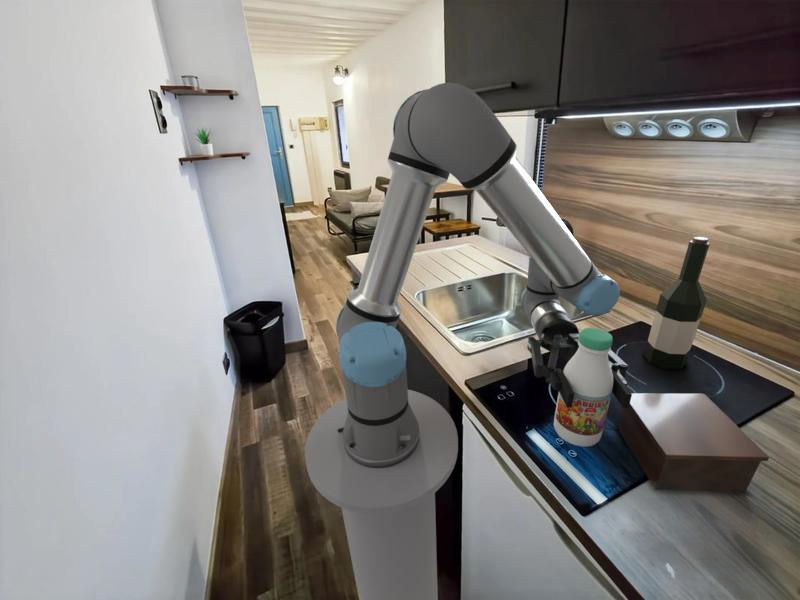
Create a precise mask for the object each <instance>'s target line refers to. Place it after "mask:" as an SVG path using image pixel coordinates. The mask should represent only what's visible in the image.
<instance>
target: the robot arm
mask: <svg viewBox="0 0 800 600" xmlns="http://www.w3.org/2000/svg"><path fill="white" fill-rule="evenodd" d="M392 135H393V136H392V137H393V140H392V143H391V146H390V149H389V154H388V157H387V163H388V165H389V168H390V169H391V177H390V179H389V183H388V186H387V189H386V193H385V196H384V199H383V203H382V207H381V210H380V213H379V216H378V220H377V223H376V226H375V230H374V232H373V233H374V234H373V237H372V240H371V243H370V247H369V250H368V254H367V256H366V260H365V263H364V267H363V270H362V273H361V276H360V280H359V284H358V287H357V288H356V289H354V290H352V291H350V292H349V293H348V294H347V298H346V301H345V304H343V306H342V307H341V309H340V311H339V313H338V316H337V318H336V325H335V329H336V335H337V340H338V361H339V362H338V363H339V366H340V367H341V375H342V381H343V386H344V393H345V398H346V400H347V406H348V413H347V417H346V421H345V425H344V427H343V428H340V429H338V432H339V433H340V432H343V442H344V448H345V451H346V453H347V454H348V456H349V457H350V458H351V459H352V460H353V461H355V462H356V463H358V464H360V465H362V466H365V467H370V468H386V467H390V466H394V465H397V464H399V463H401V462H403V461H404V460H406V459H407V458H408V457H409V456H410V455H411V454H412V453H413V452H414V451H415V449H416V447H417V445H418V443H419V424H418V421H417V419H416V417H415V415H414V413H413V411H412V409H411V407H410V405H409V403H408V390H409V389H408V376H407V375H408V374H407V373H408V372H407V349H406V345H405V341H404V338H403V336H402V334H401V333H400V331H398V329H396V328H397V325H398V322H399V320H400V317H401V314H402V307H401V305H400V303H399V301H398V300H399V298H400V294H401V291H402V288H403V285H404V282H405V280H406V277H407V274H408V271H409V268H410V265H411V263H412V259H413V257H414V254H415V251H416V247H417V244H418V242H419V239H420V236H421V234H422V230H423V227H424V225H425V222H426V219H427V216H428V213H429V210H430V206H431V204H432V201H433V198H434V195H435V192H436V189H437V188H438V187H439V186H441V185H443V184H444V183H447V182H448V180H449V177H450V175H451V176H452V177H454V178H455V179H456V180H457V181H458V182H459V183H460V184H461V186H462V187H463V188H464V189H465V190H466V191H467V190H468V191H475V192H476V193H477V194H478V195H479V196H480V198H481V199H482V200H483V202H485V203H486V205H487V206H488V207H489V208H490V210H491V211H492V212H493V213H494V214H495V216H496V217H497V218H498V219H499V220H500V222H501V223H502V224H503V225H504V226H505V227H506V229H507V230H508V231H509V232H510V233H511V234H512V236H513V237H514V238H515V239H516V241H517V242H518V243H519V244H520V245H521V246H522V248H523V249H524V250H525V251H526V252H527V254H528V255H529V257H528V269H527V281H526V282H527V283H526V287H525V288H524V290H523V291H522V293H521V296H520V302H521V307H522V308H523V312H524V313H525V314H526V316H527V319H528V321H529V322H530V324H531V326H532V328H533V330H534V332H535V334H536V336H537V338H538V339H536V338H535V337H534V336H528V338H527V339H528V340H527V347H526V349H527V351H529V353H530V354H531V361H532V368H533V373H534V377H536V378H542V377H544V378H545V382H546V383H547V384H548V385H549V384H550V386H551V388H552V389H553V390H554V391H558V393H559V392H560V394H561V396H562V399H563V401H564V403H565V405H566V407H569V408H572V404H573V399H574V392H573V390H572V388H571V386H570V385H569V383H568V381H567V379H566V377H565V375H564V373H563V371H564V370H562V368H561V367H559V368H558V367H557V364H558V361H559V357H573V356H574V355H575V353H576V352H577V350H578V348H579V345H578V341H579V335H580V330H579V328H578V326H577V325H576V323H575V322H574V320H573V319H572V318H571V316H570V314H569V313H568V312H567V311H566V310H565V308H564V307H563V306H562V304H561V303H560V302H561V298H562V299H563V300H565V301H566V302H568V303H569V304H571V305H572V306H574V307H575V308H576V309H577V310H578V311H582V313H583V312H584V313H585V314H587V315H589V316H593V317H596V316H597V317H598V316H602V315H605V314H606V313H608V312H609V311H611V310H612V309H613V308H614V307H615V306H616V305H617V303H618V302H619V299H620V295H621V288H620V285H619V283H618V282H617V281H616V280H614V279H613V278H611V277H610V276H609V275H607V274H603V273H602V272H601V271H600V270H599V269H598V268H597V266H596V265H595V263H593V261H592V260H591V259H590V258H589V256H588V255H587V253H586V252H585V251H584V249H583V248H582V246H581V245H580V244H579V242H578V241H577V239H576V238H575V237H574V236H573V234H572V233H571V231H570V230H569V229H568V227H567V226H566V224H565V223H564V222H563V220H562V219H561V217H560V215H558V213H557V212H556V210H555V209H554V208H553V206H552V205H551V203H550V202H549V201H548V200H547V198H546V197H545V195H544V193H542V191H541V189H540V188H539V187H538V185H537V184H536V182H535V181H534V179H532V177H531V176H530V174H529V173H528V171H527V170H526V169H525V168H524V166H523V164H522V163H521V162H520V161H519V158H517V155H516V154H517V149H518V145H517V143H516V142H515V141H514V139H513V138H512V136H511V135H510V134H509V132H508V131H507V129H506V128H505V127H504V125H503V124H502V122H501V121H500V120H499V118H498V117H497V116H496V114H495V113H494V111H492V110H491V108H490V107H489V105H487V103H486V102H485V101H484V100H483V99H482V98H481V97H480V96H479V95H478V94H477V93H476V92H474V91H473V90H472V89H471V88H469V87H467V86H465V85H462V84H460V83H454V82H443V83H438V84H436V85H433V86H431V87H430V88H427V89H422V90H419V91H416V92H415V93H413V94H411V95H410V96H408V97H407V98H406V99H405V100H404V101H403V103H401V105H400V106H399V108H398V109H397V111H396V114H395V116H394V119H393V127H392ZM541 348H543V349H545V350H546V351H547V352H550V355H549V358H548V359H549V360H548V364H547V365H545V364H544V361H543V355H542V351H541ZM608 360H609V364H610V367H611V370H612V373H613V389H612V394H613V396H614V398H615V399H616V400H617V401H618V403H619V404H620V406H621V408H622V407H623V408H629V404H630V400H631V397H632V394H631V393H632V392H631V391H630V389H629V388H628V386H627V385H628V381H627V380H626V379H625V378H626V374H627V370H628V364H627V363H626V362H625V361H624V360H623V359H622V358H620V356H618V355H617V354H616V353H615V352H614V351H613V350H612V349H611V350H610V351H609V352H608Z"/></svg>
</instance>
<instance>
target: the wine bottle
mask: <svg viewBox="0 0 800 600" xmlns="http://www.w3.org/2000/svg"><path fill="white" fill-rule="evenodd" d="M710 245H711V242H709V238H708V237H704V236H694V237H693V238H692V239H691V240H690V241H689V242H688V245H687V249H686V252H685V256H684V259H683V262H682V266H681V269H680V273H679V276H678V278H677V279H676V280H675V281H674V282H673V283H671V284H670V285H669V286H668V287H667V288H666V289H665V290H663V291H662V292H661V293H660V295H659V298H658V302H657V306H656V309H655V313H654V316H653V319H652V324H651V328H650V332H649V334H648V339H647V343H646V345H645V349H644V353H643V357H645V359H646V360H647V361H648V363H649V364H651V365H653V366H657V367H659V368H662V369H665V370H681V369H683V367H684V366H685V365H686V364H687V361H688V358H689V355H690V352H691V349H692V346H693V343H694V340H695V338H696V334H697V330H698V328H699V325H700V322H701V319H702V316H703V313H704V310H705V307H706V304H707V301H708V300H707V297H706V295H705V292H704V290H703V288H702V286H701V284H700V281H699V280H700V277H701V274H702V269H703V267H704V264H705V260H706V258H707V254H708V251H709V248H710Z"/></svg>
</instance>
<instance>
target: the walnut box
mask: <svg viewBox="0 0 800 600" xmlns="http://www.w3.org/2000/svg"><path fill="white" fill-rule="evenodd" d="M631 394H632V397H631V400H630V404H629V408H623V407H622V406H621V410H620V415H619V419H618V422H617V426H616V428H617V430H618V432H619V433H620V435H621V436H622V438H623V440H624V441H625V443H626V445H627V446H628V448H629V450H630V451H631V453H632V455H633V456H634V458H635V460H636V461H637V463H638V464H639V465H640V468H641V469H642V471H643V472H644V474H645V475H646V478H647V479H648V480H649V482H650V483H651V485H652V486H653V488H654V490H664V491H665V490H667V491H696V492H697V491H698V492H700V491H701V492H733V493H737V492H738V493H746V491H747V489H748V487H749V486H750V483H751V481H752V480H753V478H754V476H755V474H756V471H757V470H758V468H759V466H760V464H761V463H762V462H768V461H769V459H770V457H769V456H768V455H767V454H766V453H765V452H764V450H763V449H762V448H761V447H759V446H758V445H757V443H755V442H754V440H753V439H751V438H750V437H749V436H748V435H747V434H746V433H745V432H744V431H743V430H742V429H741V428H740V427H739V426H738V425H737V424H736V423H735V422H734V421H733V420H732V419H731V418H730V417H729V416H728V415H727V414H726V413H725V412H724V411H723V410H722V409H720V407H719V406H718V405H716V403H715V402H714V401H712V400H711V398H709V397H708V395H706V394H705V393H675V392H674V393H673V392H671V393H670V392H669V393H667V392H666V393H665V392H664V393H663V392H662V393H661V392H658V393H655V392H653V393H651V392H649V393H648V392H647V393H646V392H643V393H641V392H638V393H637V392H631Z"/></svg>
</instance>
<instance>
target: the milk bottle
mask: <svg viewBox="0 0 800 600" xmlns="http://www.w3.org/2000/svg"><path fill="white" fill-rule="evenodd" d="M579 333H580V335H579V341H578V345H579V348H578V350H577V352H576V353H575V355H574V356H571V358H570V359H569V360H568V361H567V363H566V364H565V365H564V368H563V370H562V371H563V373H564V375H565V377H566V379H567V381H568V383H569V385H570V386H571V388H572V390H573V392H574V399H573V404H572V408H569V407H566V405H565V403H564V401H563V399H562V396H561V394H560V392H559V391H558V393H557V394H558V395H557V400H556V406H555V411H554V418H553V419H554V420H553V427H554V430H555V432H556V433H557V435H558V436H559V437H560V438H561V439H562V440H564V441H565V442H567V443H568V444H570V445H573V446H577V447H585V448H587V447H593V446H594V445H596V444H597V443H599V442H600V440H601V438H602V436H603V433H604V432H603V431H604V428H605V424H606V419H607V416H608V412H609V407H610V404H611V399H612V394H613V393H612V389H613V373H612V370H611V367H610V364H609V360H608V352H609V351H610V350H612V346H613V340H614V339H613V338H614V337H613V335H612V334H611V333H610V332H608V331H606V330H603V329H601V328H597V327H586V328H583V329H582V330H581V331H579Z"/></svg>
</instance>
